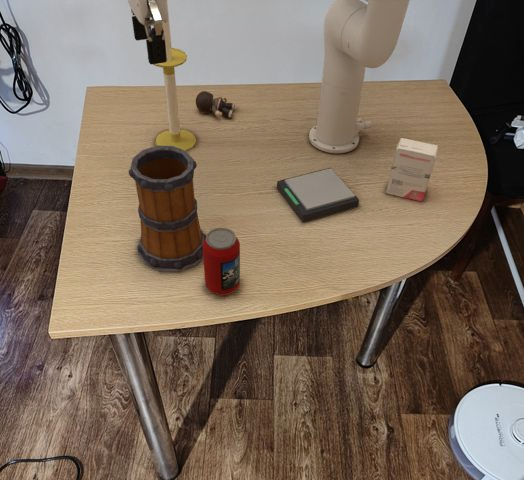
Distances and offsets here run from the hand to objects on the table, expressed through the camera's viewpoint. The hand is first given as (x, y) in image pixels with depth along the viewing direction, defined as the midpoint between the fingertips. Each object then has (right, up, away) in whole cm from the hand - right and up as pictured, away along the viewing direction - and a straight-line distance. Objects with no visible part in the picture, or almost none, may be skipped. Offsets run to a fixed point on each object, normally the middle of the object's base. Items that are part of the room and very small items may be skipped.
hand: (150, 50), depth 101 cm
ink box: (+53, -18, +27) cm, 63 cm away
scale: (+33, -20, +24) cm, 45 cm away
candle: (-1, -3, +36) cm, 36 cm away
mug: (+1, -32, +14) cm, 35 cm away
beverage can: (+13, -42, +7) cm, 45 cm away
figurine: (+8, +8, +45) cm, 46 cm away
